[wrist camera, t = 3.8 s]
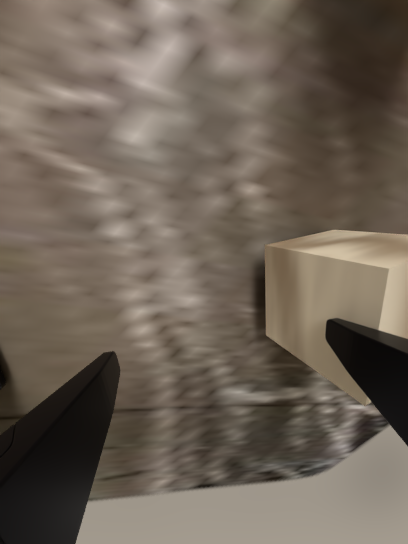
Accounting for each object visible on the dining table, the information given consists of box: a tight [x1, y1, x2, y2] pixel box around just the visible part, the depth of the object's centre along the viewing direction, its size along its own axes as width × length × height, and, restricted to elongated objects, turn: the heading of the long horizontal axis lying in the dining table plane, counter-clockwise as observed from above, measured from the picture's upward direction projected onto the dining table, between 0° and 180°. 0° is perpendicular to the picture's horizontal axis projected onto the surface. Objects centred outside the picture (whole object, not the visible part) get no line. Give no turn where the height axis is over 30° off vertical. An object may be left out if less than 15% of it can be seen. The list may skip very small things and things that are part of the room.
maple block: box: [265, 230, 408, 406], centre depth 12 cm, size 6×6×6 cm
